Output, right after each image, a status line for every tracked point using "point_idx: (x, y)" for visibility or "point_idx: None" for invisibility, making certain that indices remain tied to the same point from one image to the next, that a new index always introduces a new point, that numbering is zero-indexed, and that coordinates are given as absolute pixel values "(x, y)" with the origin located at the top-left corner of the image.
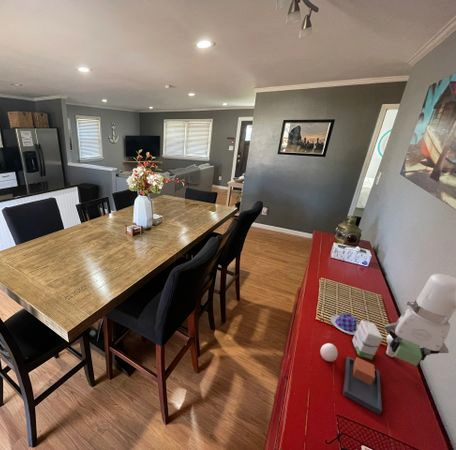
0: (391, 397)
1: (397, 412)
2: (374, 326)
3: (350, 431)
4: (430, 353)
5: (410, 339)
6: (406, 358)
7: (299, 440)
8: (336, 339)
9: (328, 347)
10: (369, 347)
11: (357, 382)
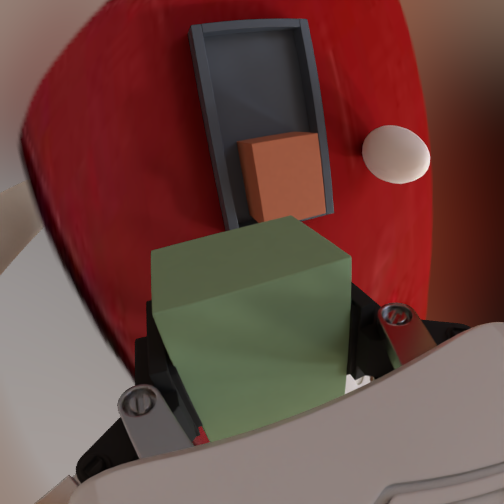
0: (165, 157)
1: (139, 99)
2: None
3: None
4: (122, 422)
5: (428, 398)
6: (235, 242)
7: None
8: (356, 282)
9: (424, 144)
10: None
11: (276, 113)
